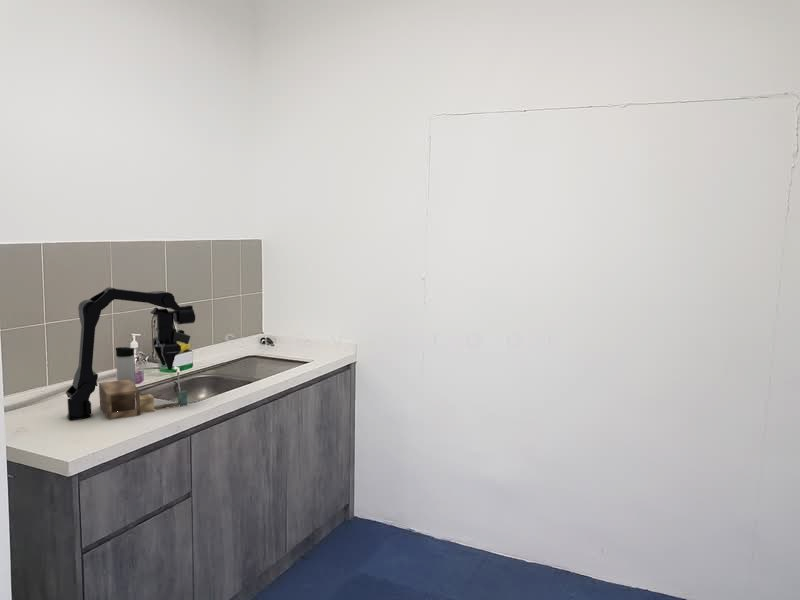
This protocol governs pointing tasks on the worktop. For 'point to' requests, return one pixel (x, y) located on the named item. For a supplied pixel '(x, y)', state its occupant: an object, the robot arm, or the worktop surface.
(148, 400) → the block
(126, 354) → the travel mug
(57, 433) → the worktop surface
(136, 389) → the brown wooden box
